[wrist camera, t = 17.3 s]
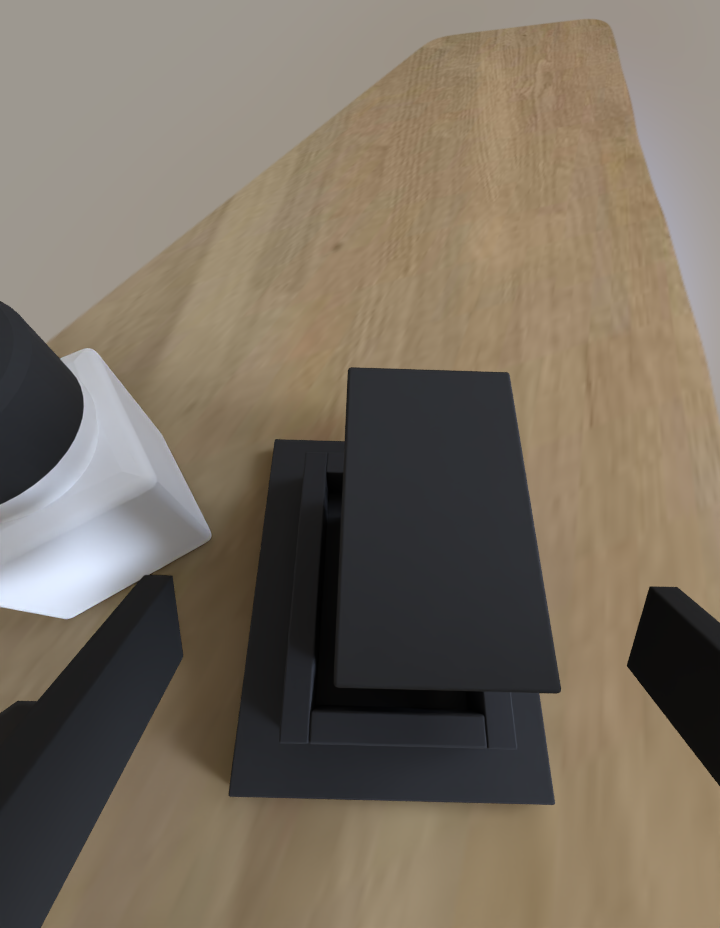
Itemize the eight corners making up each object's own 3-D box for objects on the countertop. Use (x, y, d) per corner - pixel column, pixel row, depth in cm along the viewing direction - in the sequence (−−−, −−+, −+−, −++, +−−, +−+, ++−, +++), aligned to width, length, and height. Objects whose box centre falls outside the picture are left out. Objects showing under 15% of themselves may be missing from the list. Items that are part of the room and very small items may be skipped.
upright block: (343, 678, 17) (333, 687, 7) (349, 515, 20) (348, 365, 10) (441, 681, 17) (564, 694, 7) (432, 517, 20) (510, 371, 10)
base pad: (234, 790, 16) (206, 818, 13) (277, 447, 23) (266, 412, 20) (544, 797, 16) (590, 827, 13) (498, 454, 23) (521, 420, 20)
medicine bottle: (161, 432, 23) (-1, 225, 12) (216, 539, 21) (69, 395, 10) (26, 497, 21) (-302, 320, 11) (67, 623, 19) (-311, 558, 8)
